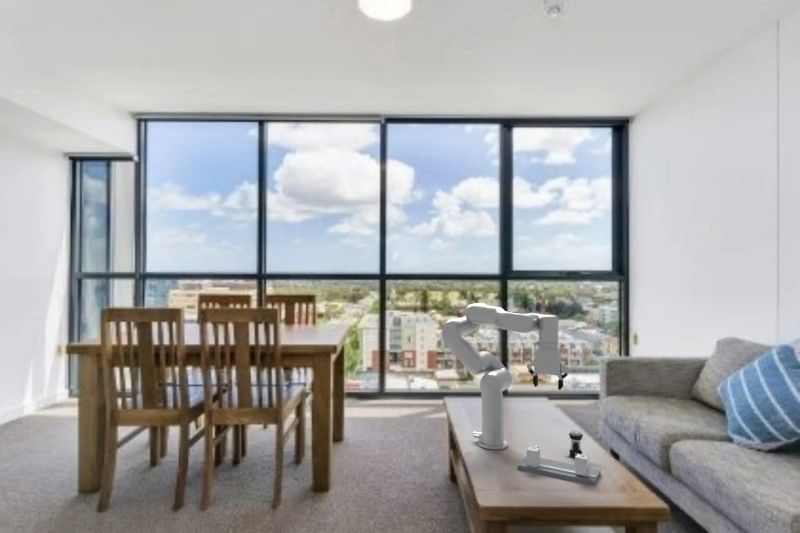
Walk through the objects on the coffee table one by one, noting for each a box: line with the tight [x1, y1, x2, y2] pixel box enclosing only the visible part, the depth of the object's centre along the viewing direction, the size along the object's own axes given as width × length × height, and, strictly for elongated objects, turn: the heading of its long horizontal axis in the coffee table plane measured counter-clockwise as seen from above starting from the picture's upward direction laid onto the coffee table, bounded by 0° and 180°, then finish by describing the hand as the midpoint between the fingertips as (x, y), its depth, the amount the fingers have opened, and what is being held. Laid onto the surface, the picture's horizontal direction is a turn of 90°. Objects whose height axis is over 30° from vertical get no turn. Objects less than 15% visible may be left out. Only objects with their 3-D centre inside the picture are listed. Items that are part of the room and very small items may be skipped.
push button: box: [564, 430, 584, 458], centre depth 211 cm, size 7×5×10 cm
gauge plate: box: [517, 444, 602, 486], centre depth 195 cm, size 28×12×8 cm, turn 59°
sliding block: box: [574, 451, 590, 476], centre depth 190 cm, size 4×7×6 cm, turn 149°
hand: (547, 387), depth 209 cm, fingers open, 9 cm apart
